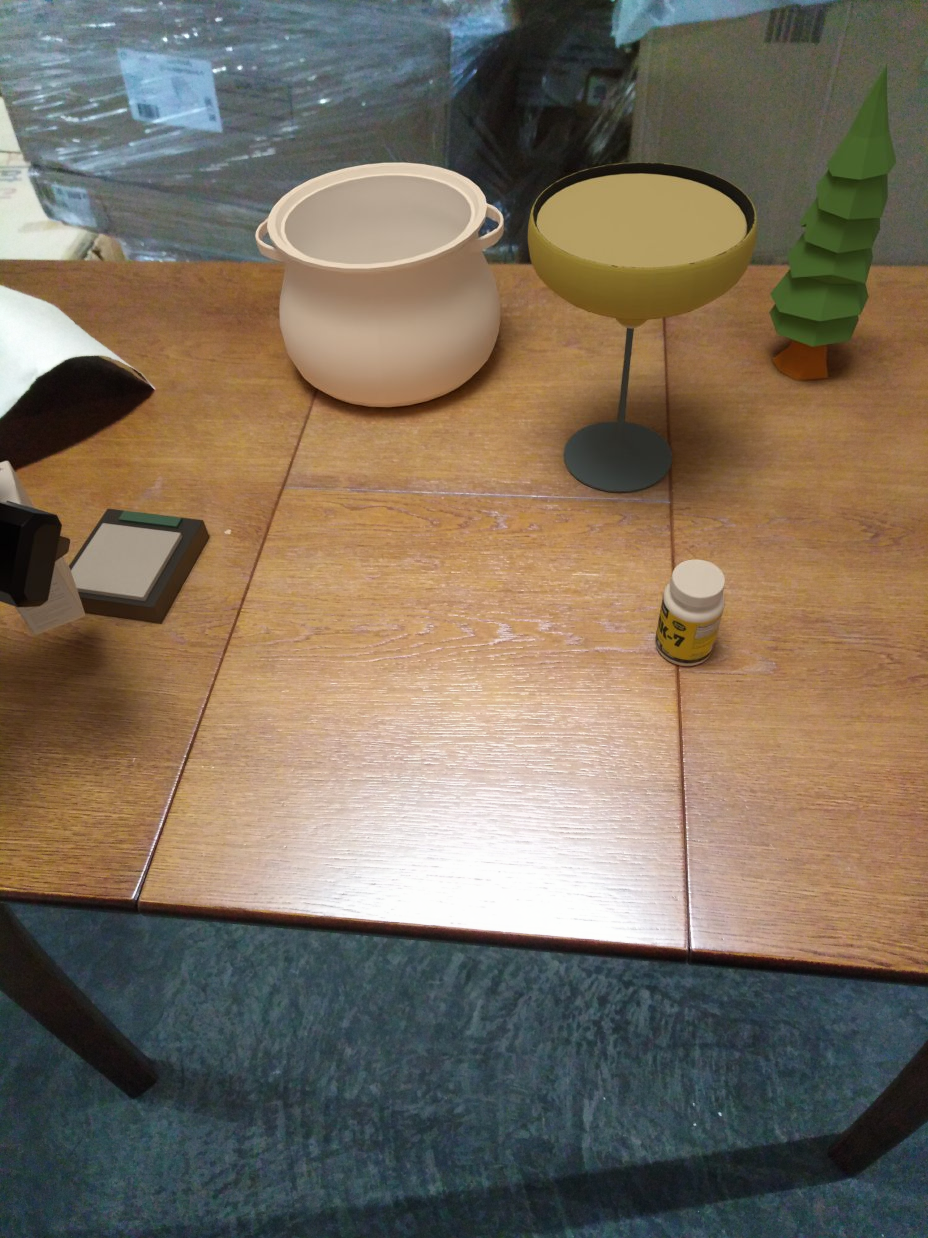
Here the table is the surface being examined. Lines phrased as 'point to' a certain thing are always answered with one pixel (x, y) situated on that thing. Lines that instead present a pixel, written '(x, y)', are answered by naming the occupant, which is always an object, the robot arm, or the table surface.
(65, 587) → the cosmetic box
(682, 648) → the supplement bottle
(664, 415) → the table surface
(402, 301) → the pot
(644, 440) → the cocktail glass
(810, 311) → the decorative tree
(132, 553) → the kitchen scale
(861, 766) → the table surface
